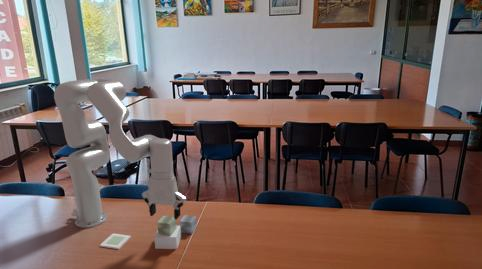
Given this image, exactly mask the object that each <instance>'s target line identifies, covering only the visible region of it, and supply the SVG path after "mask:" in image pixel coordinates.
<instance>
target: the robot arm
mask: <svg viewBox="0 0 482 269" xmlns="http://www.w3.org/2000/svg"><path fill="white" fill-rule="evenodd" d="M126 91H127V90H126V88H125V86H124V84H122V83H121V82H120V81H118V80H115V79H114V80H113V79H104V78H86V79H78V80H70V81H66V82H63V83H61V84H59V85H58V86H56V88H55V89H54V92H53V93H54V94H53V99H54V103H55V105H56V107H57V109H58V112H59V114H60V117H61V122H62V127H63V131H64V132H63V133H64V137H65V141H66V143H67V144H66V145H68V146H69V147H70V148H73V149H79V148H82V149H79V150H76V151H74V152H72V153H71V154H69V155H68V157H67V158H66V167H67V171H68V172H69V175H70V178H71V182H72V188H73V192H74V193H73V194H74V197H75V199H74V200H75V204H76V205H75V206H76V208H73V209H72V212H71V216H72V217H76V218H75V220H74V224H75V226H76V227H77V228H81V229H83V228H84V229H88V228H93V227H96V226H99V225H101V224H103V223H104V222H105V221H106V220H107V219H108V215H107V212H104V211H103V206H102V199H101V193H100V192H101V191H100V183H99V181H98V180H99V179H98V178H97V177H96V175H95V174H94V173H93V171H94V170H96V169H99V168H101V167H103V166H105V165H108V163H109V162H110V159H111V152H110V147H109V146H110V145H109V142H108V135H109V139H110V142H111V144H112V147H113V148H114V149H115V150H116V152H117V153H118V154H119V155H120V156H121V157H122V158H123V159H124V160H125V161H127V162H129V163H136V162H138V161H141V160H143V159H146V158H147V157H150V168H148V171H147V172H148V173H150V174H151V175H150V176H149V178H148V186H147V187H148V188H147V190H146V191H145V190H144V191H142V193H141V196H142V198H143V199H144V202H145V203H146V205H147V206H148V210H149V215H150V217H153V216H154V215H155V214H157V206H156V205H160V206H161V205H162V206H166V207H167V206H169V207H173V208H174V209H173V214H174V215H173V217H174V219H175V220H176V221H177V220H178V219H179V217H180V216H181V208H182V207H183V206H184V204H185V202H187V197H186V196H185V195H183V194H182V193H180V192H179V188H178V182H177V179H176V178H177V177H176V176H175V175H174V163H173V162H174V160H173V145H172V144H173V143H172V142H171V140H170V139H168V138H160V137H157V136H155V135H152V134H144V135H143V136H142V135H141V136H139V137H136V138H134V139H130V138H129V137H128V135H127V134H126V133H125V132H124V130H123V124H124V123H125V122H126V121H127V119H128V118H129V116H130V110H129V109H128V108H127V106H126V105H125V104H124V103H123V100H125V98H126V97H127V92H126ZM86 102H90V103H91V104H92V105H93V106H94V108H95V109H96V110H97V111H98V113H100V115H101V116H102V118H104V120H105V121H106V122H107V123H108V126H109V128H108V133H109V134H108V135H107V131H106V129H105V126H104V124H103V123H102V122H101V121H99V120H96V119H89V120H87V118H86V113H85V110H84V109H83V108H82V107H81V106H80V104H81V103H86ZM89 145H90V146H89ZM85 146H89V147H86V148H83V147H85ZM179 200H180V201H179Z"/></svg>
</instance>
